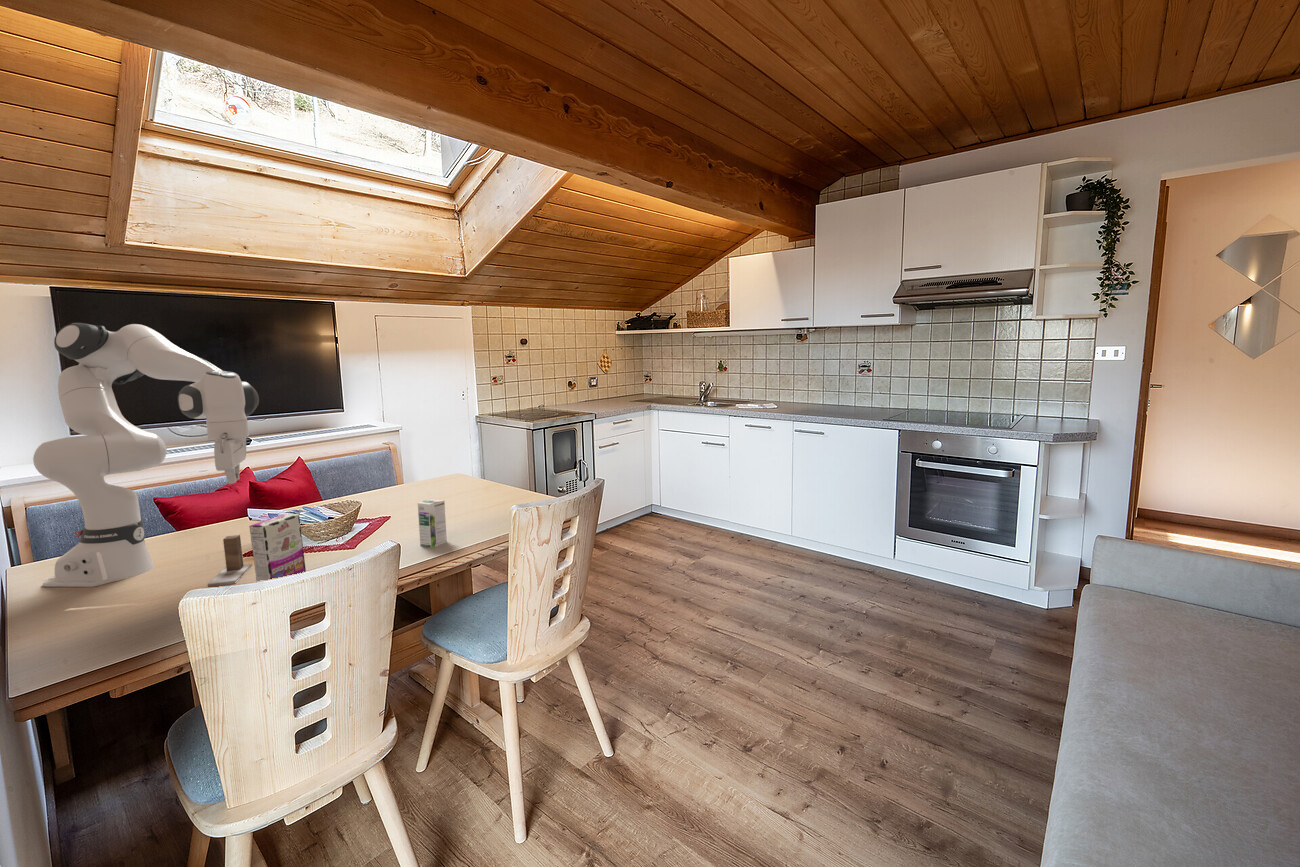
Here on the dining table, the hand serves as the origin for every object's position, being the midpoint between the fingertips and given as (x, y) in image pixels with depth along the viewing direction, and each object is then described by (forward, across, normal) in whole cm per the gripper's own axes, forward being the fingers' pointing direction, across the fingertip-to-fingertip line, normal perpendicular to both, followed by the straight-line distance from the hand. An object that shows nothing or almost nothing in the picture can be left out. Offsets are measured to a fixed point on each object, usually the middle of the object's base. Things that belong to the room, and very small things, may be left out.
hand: (233, 481), depth 153 cm
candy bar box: (+25, -14, -10) cm, 31 cm away
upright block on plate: (+25, +1, +1) cm, 25 cm away
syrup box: (+25, -7, -49) cm, 56 cm away
